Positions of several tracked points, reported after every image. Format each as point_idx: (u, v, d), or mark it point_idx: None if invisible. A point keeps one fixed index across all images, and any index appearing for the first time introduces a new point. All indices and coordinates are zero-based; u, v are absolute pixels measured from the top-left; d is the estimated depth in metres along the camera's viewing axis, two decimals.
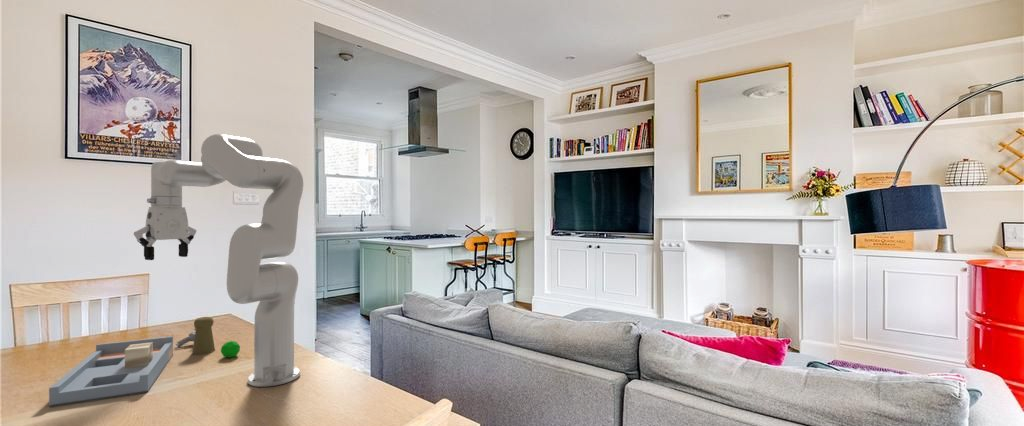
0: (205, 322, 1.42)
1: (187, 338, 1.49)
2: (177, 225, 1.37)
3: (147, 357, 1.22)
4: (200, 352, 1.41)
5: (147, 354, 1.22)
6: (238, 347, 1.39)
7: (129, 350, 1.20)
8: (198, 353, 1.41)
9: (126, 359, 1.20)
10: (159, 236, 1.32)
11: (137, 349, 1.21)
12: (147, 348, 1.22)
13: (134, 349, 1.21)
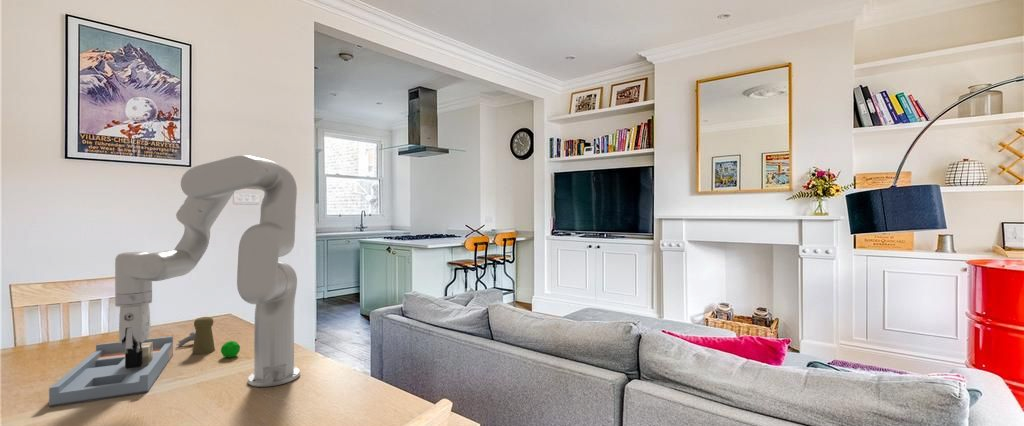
0: (205, 322, 1.42)
1: (188, 337, 1.49)
2: (148, 322, 1.21)
3: (147, 357, 1.22)
4: (200, 352, 1.41)
5: (147, 354, 1.22)
6: (238, 347, 1.39)
7: None
8: (198, 353, 1.41)
9: None
10: (143, 338, 1.17)
11: None
12: (147, 348, 1.22)
13: None
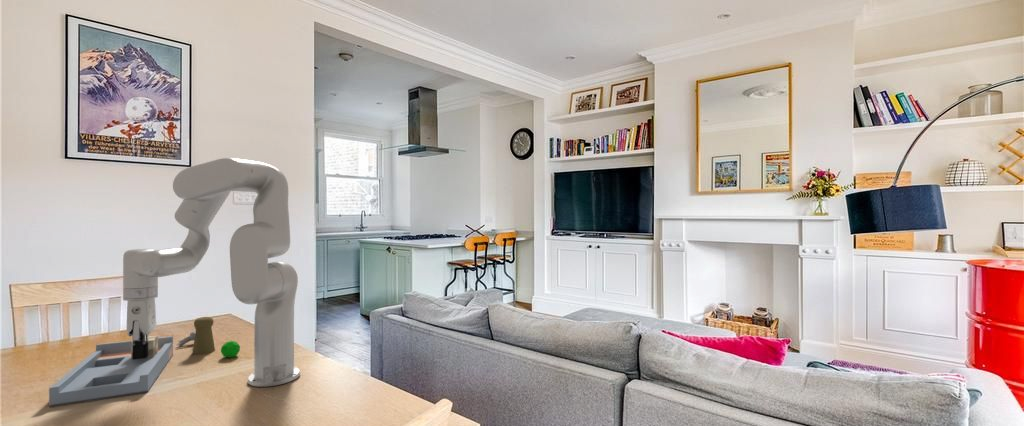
0: (205, 322, 1.42)
1: (189, 337, 1.49)
2: (154, 315, 1.28)
3: (152, 349, 1.29)
4: (200, 352, 1.41)
5: (152, 346, 1.29)
6: (238, 347, 1.39)
7: None
8: (198, 353, 1.41)
9: (132, 351, 1.27)
10: (149, 331, 1.23)
11: None
12: (152, 341, 1.29)
13: None
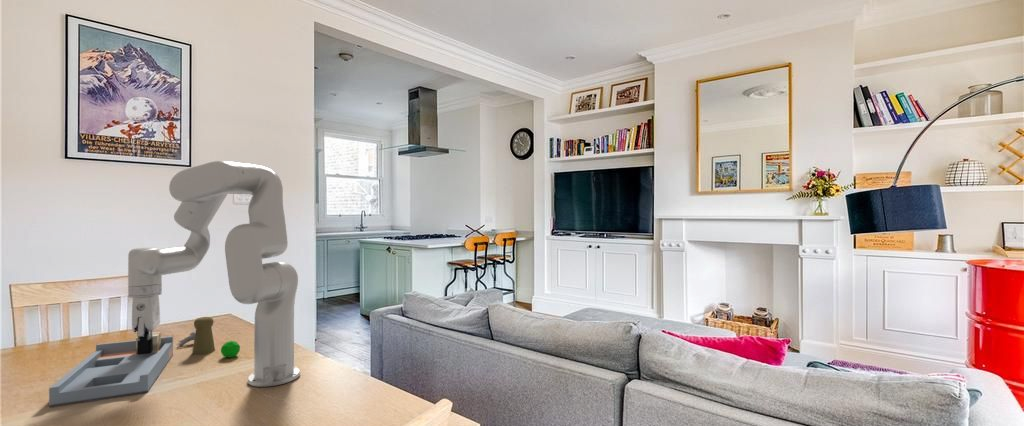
0: (205, 322, 1.42)
1: (189, 337, 1.50)
2: (158, 312, 1.32)
3: (156, 345, 1.33)
4: (200, 352, 1.41)
5: (156, 342, 1.33)
6: (238, 347, 1.39)
7: None
8: (198, 353, 1.41)
9: None
10: (154, 327, 1.28)
11: None
12: (156, 336, 1.33)
13: None
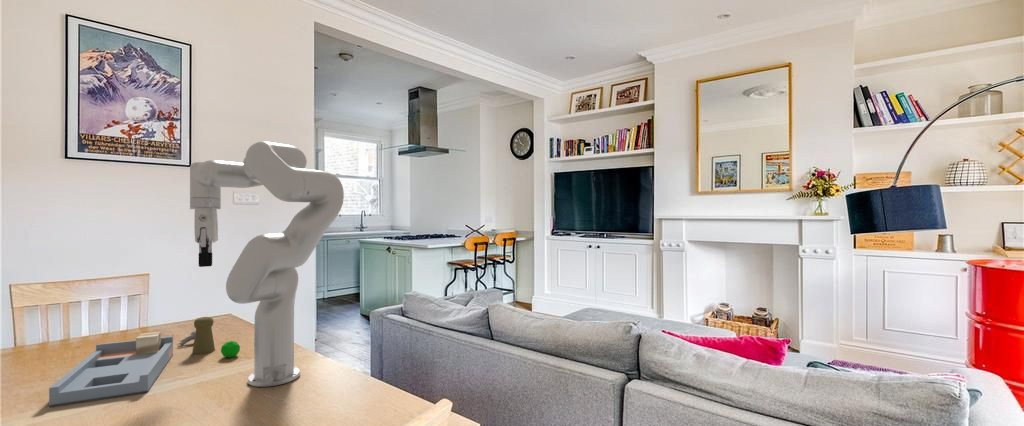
0: (205, 322, 1.42)
1: (190, 337, 1.50)
2: (217, 227, 1.34)
3: (156, 345, 1.33)
4: (200, 352, 1.41)
5: (156, 342, 1.33)
6: (238, 347, 1.39)
7: (140, 338, 1.31)
8: (198, 353, 1.41)
9: (137, 346, 1.31)
10: (215, 239, 1.30)
11: (147, 337, 1.32)
12: (156, 336, 1.33)
13: (144, 337, 1.32)
